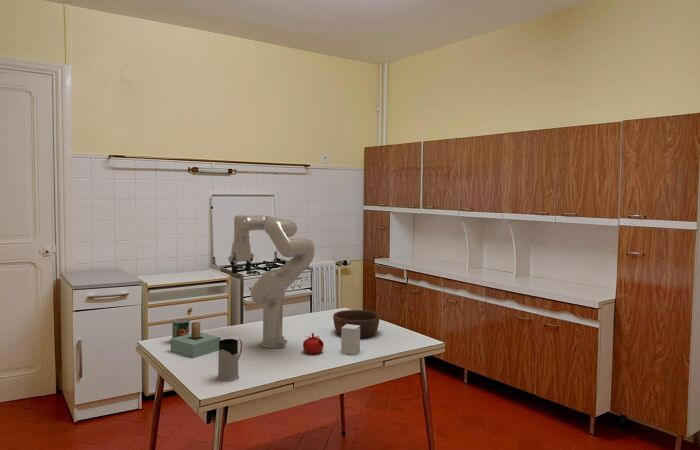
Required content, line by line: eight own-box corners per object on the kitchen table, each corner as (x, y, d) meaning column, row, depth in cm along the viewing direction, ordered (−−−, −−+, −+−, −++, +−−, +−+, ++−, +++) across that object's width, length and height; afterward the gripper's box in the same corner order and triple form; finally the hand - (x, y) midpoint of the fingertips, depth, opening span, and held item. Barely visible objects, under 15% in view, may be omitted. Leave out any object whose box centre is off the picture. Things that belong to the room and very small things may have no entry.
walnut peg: (202, 348, 252) (202, 323, 251) (195, 350, 248) (195, 324, 247) (196, 346, 254) (196, 321, 253) (189, 348, 250) (189, 323, 250)
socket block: (220, 349, 253) (220, 337, 253) (193, 358, 240) (193, 345, 239) (197, 343, 262) (197, 331, 262) (170, 351, 249) (170, 338, 248)
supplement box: (360, 351, 256) (360, 325, 255) (355, 355, 249) (356, 328, 248) (345, 349, 258) (346, 323, 257) (340, 353, 251) (341, 327, 250)
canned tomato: (183, 345, 259) (183, 323, 258) (169, 344, 260) (169, 321, 259) (191, 340, 266) (191, 319, 266) (177, 339, 268) (177, 318, 267)
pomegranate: (304, 356, 246) (304, 337, 245) (300, 350, 256) (300, 331, 255) (325, 354, 249) (325, 335, 248) (321, 348, 259) (321, 329, 258)
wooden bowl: (387, 332, 290) (388, 314, 290) (363, 343, 269) (364, 323, 269) (349, 325, 304) (349, 307, 303) (323, 335, 283) (323, 315, 282)
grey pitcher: (212, 379, 214) (212, 342, 213) (232, 368, 227) (232, 334, 226) (231, 382, 211) (231, 345, 210) (250, 371, 224) (250, 336, 223)
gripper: (248, 237, 283) (248, 269, 285) (223, 239, 269) (223, 273, 270) (258, 238, 279) (258, 271, 280) (234, 241, 265) (234, 275, 266)
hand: (241, 272), depth 275 cm, fingers open, 9 cm apart
